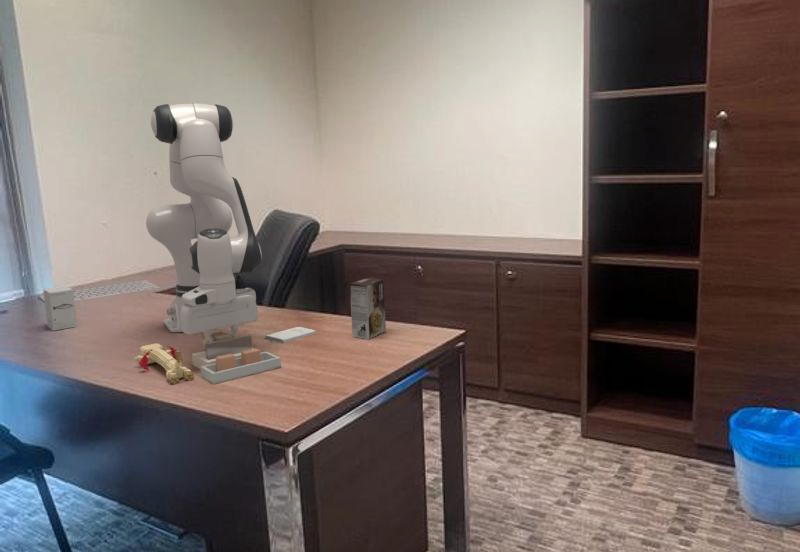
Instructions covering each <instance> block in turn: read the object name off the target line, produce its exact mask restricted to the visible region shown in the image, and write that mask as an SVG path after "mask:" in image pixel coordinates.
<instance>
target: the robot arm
mask: <svg viewBox="0 0 800 552" xmlns="http://www.w3.org/2000/svg"><path fill="white" fill-rule="evenodd" d="M150 125H151V130H152V132H153V135H154V137H155V138H156V139H157V140H158V141H159V142H161V143H165V144H169V151H168V152H169V153H168V155H169V156H168V157H169V158H168V159H169V160H168V161H169V180H170V181H169V183H170V185H171V187H172V188H173V189H174V190H176V191H177V192H178V193H181V194H183V195H185V196H188V197H190V202H189V203H179V204H178V203H177V204H176V203H175V204H166V205H163V206H158V207H155V208H151V210H150V211H149V213H148V214H147V216H146V222H145V224H146V225H145V226H146V229H147V232H148V234H149V235H150V237H152V238H153V239H154V240H155V241H157V242H159V243H160V244H162V245H163V246H164V247H165V248H166V249H167V251H168V252H169V254H170V255H171V257H172V259H173V260H172V261H173V262H174V269H175V273H176V282H177V283H176V286H175V296H176V297H175V298H174V299H173V300H172V302H171V303H170V305H169V307H167V308H166V315H167V316H170V317H169V318H165V319H164V320H163V324H164V326H166V328H167V329H168V331H169V332H170V333H181V332H182V333H184V334H186V335H189V336H190V335H194V334H200V333H202V332H204V334H205V335H206V336H207V338H208V339H209V342H213V341H217V339H215V338H213V337H212V336H211V335H210V334H213V332H212V330H215V329H216V330H219V329H225V328H230V329H231V330H230V332H229V335H230V336H232V337H236V334H237V333H238V330H239V326H240V325H244V324H249V323H254V322H257V320H258V318H259V311H258V306H257V301H256V300H257V294H256V291H255V289H254V288H251V287H244V288H236V279H235V275H234V273H239V274H240V273H241V274H251V273H253V272H254V271H256V270H257V269H258V268H259V266H260V265H261V264H262V260H263V254H262V250H261V249H262V248H261V245H260V243H259V241H258V239H257V235H256V232H255V230H254V227H253V224H252V220H251V216H250V213H249V209H248V206H247V202H246V199H245V196H244V193H243V190H242V187H241V185H240V183H239V181H238V179H237V178H236V177H234V176H231V174H230V173H229V172H228V170H227V169H226V166H225V163H224V156H223V155H224V154H223V148H222V144H221V143H222V142H226V141H228V140H229V139H230V138H231V137H232V133H233V129H234V119H233V117H232V114H231V111H230V110H229V108H228V107H226V106H225V105H221V104H209V103H200V102H199V103H197V102H192V103H176V104H169V103H167V104H166V103H165V104H160V105H157V106H156V107H155V108H154V109H153V111H152V115H151V119H150ZM227 205H228V206H227ZM230 209H231V210H230ZM233 219H234V223H235V226H236V230H237V235H236V236H233V237H232V236H231V237H230V235H229V232H230V230H231V228H232V225H233ZM194 239H197V240H196V241H195V242H194V243H193V244H192V240H194Z"/></svg>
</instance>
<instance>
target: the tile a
mask: <svg viewBox="0 0 800 552" xmlns="http://www.w3.org/2000/svg"><path fill="white" fill-rule="evenodd" d="M216 367H217V372H219V371H223V370H227V369H231V368H235V367H236V361H235V355H233V354H227V355H222V356H218V357H216Z"/></svg>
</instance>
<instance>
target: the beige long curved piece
mask: <svg viewBox="0 0 800 552" xmlns="http://www.w3.org/2000/svg"><path fill="white" fill-rule="evenodd" d="M166 348H169V349H166V350H164V346H162V345H161V344H160V343H151V344H147V345H142V346H141V347H139V355H137V356H136V357H134V361H135V362H138V365H140V367H141V368H143V370H146V371H147V370H149V371H150V367H147V366H148V365H149V364H154V363H157V364H158V365H161V367H163V368H164V371H166V372H165V377H166V378H167V379H168V382H169V384H172V385H176V384H175V383H177V384H178V383H179V382H180V379H182V378H183V379H184V380H185V381H188V382H189V381H192V379H195V378H194V377H195V374H193V373H192V370H191V369H189V368H188V367H186V366H182V364H183V361H184V360H183V358H182V354H181V351H180V350H177V349H176V348H174V347H172V346H169V345H168V346H166Z"/></svg>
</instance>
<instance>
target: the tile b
mask: <svg viewBox="0 0 800 552" xmlns="http://www.w3.org/2000/svg"><path fill="white" fill-rule="evenodd" d="M260 353H261V351H260V349H258V348H253V349H250V350H245V351H241V360H242V366H244V365H248V364H252V363H256V362H261V361H260Z"/></svg>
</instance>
